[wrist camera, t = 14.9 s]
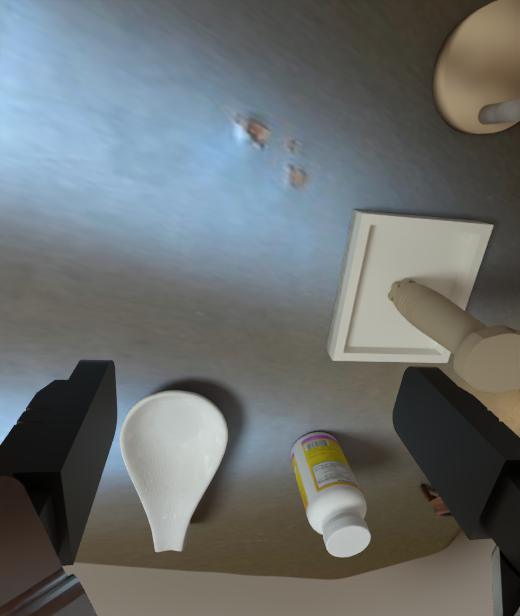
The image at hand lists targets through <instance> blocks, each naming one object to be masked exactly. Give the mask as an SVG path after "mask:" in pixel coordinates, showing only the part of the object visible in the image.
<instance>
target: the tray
mask: <svg viewBox="0 0 520 616" xmlns="http://www.w3.org/2000/svg"><path fill="white" fill-rule="evenodd" d="M493 226H494V225H492V224H488V223H484V222H480V221H474V220H463V219H452V218H441V217H430V216H419V215H408V214H397V213H386V212H375V211H363V210H353V213H352V218H351V223H350V228H349V234H348V239H347V244H346V249H345V254H344V260H343V265H342V270H341V275H340V280H339V286H338V291H337V296H336V301H335V306H334V312H333V317H332V322H331V327H330V332H329V338H328V343H327V348H326V350H327V352H328V353H329V355H330V357H331V358H332V360H333V361H376V362H428V363H447V362H448V359H449V356H450V353H451V352H450V351H448V350H447V349H446V348H444V347H443V346H441V345H440V344H438V343H437V342H436V341H434V340H433V339H431V338H430V337H428V336H427V335H425V334H424V333H422V332H421V331H419V330H418V329H417V328H416V327H414V326H413V325H412V324H411V323H410V322H408V321H407V320H406V319H405V318H404V317H403V316H402V315H401V314H400V312H399V311H398V310H397V308H396V307H395V305H394V303H393V302H391V301H390V300H389V298H388V293H389V292H390V290H391V287H392V286H391V285H392V284H393V283H394V282H395V283H397V282H400V281H402V280H403V279H410V280H413V281H415V283H418V284H421V285H424V286H426V287H428V288H430V289H432V290H434V291H436V292H438V293H440V294H441V295H443V296H445V297H446V298H448V299H449V300H451V301H452V302H453V303H455V304H456V305H457V306H459V307H460V308H462V309H463V310H464V311H465V309H466V306H467V303H468V300H469V297H470V294H471V291H472V288H473V285H474V282H475V279H476V276H477V273H478V270H479V267H480V264H481V261H482V259H483V256H484V253H485V250H486V247H487V244H488V241H489V238H490V235H491V232H492V229H493Z"/></svg>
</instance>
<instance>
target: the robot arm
mask: <svg viewBox="0 0 520 616" xmlns="http://www.w3.org/2000/svg"><path fill="white" fill-rule="evenodd" d="M116 424H117V398H116V379H115V365H114V362H113V361H112V360H80V361H79V363H78V364H77V366H76V368H75V369H74V371H73V373H72V374H71V376H70V378H69V379H68V380H54V381H53V382H51V383H50V384H49V385H47V386H46V387H44V388H43V389H41V390H40V391H39V392H37V393H36V395H35V396H34V398H33V399H32V400H31V402H30V403H29V405H28V406H27V408H26V411H24V412H23V413H22V415H21V416H20V418H19V419H18V421H17V424H16V425H14V426H13V428H12V429H11V431H10V432H9V434H8V435H7V436H6V438H5V439H4V441H3V442H2V444H1V445H0V616H97V614H96V612H95V610H94V608H93V606H92V604H91V602H90V600H89V598H88V596H87V594H86V592H85V590H84V588H83V587H82V585H81V583H80V582H79V580H78V579H77V577H76V576H75V575H73V574H72V575H70V576H68V575H67V574H66V572H65V571H64V569H63V567H62V566H65V565H73V564H74V561H75V558H76V554H77V551H78V548H79V545H80V542H81V539H82V536H83V532H84V529H85V526H86V523H87V520H88V517H89V514H90V511H91V507H92V504H93V501H94V498H95V495H96V492H97V489H98V485H99V482H100V479H101V476H102V473H103V470H104V467H105V463H106V460H107V457H108V454H109V451H110V448H111V445H112V441H113V438H114V435H115V430H116ZM393 425H394V428H395V431H396V433H397V434H398V436H399V437H400V439H401V440H402V442H403V443H404V445H405V446H406V448H407V449H408V451H409V452H410V454H411V455H412V457H413V458H414V459H415V461H416V462H417V464H418V465H419V467H420V468H421V470H422V471H423V473H424V474H425V476H426V477H427V479H428V480H429V482H430V483H431V484H432V486H433V487H434V489H435V490H436V492H437V493H438V495H439V496H440V498H441V499H442V501H443V502H444V504H445V505H446V507H447V508H448V510H449V511H450V512H451V514H452V515H453V517H454V518H455V520H456V521H457V523H458V524H459V526H460V527H461V529H462V530H463V532H464V533H465V535H466V536H467V538H468V539H469V540H475V539H489V538H492V539H493V540H494V542H495V543H496V546H495V548H494V550H493V552H492V557H491V559H492V560H491V561H492V592H493V616H520V438H519V437H518V436H517V435H516V434H515V433H514V432H513V431H512V430H511V429H510V428H509V427H507V426H506V425H505V424H504V423H503V422H499V418H498V417H496V416H495V415H494V414H493V413H492V412H491V411H488V410H487V407H485V406H484V405H483V404H482V403H481V402H480V401H479V400H478V399H477V398H476V397H474V396H473V395H472V394H470V393H468V392H467V391H465V390H463V389H462V388H460V387H458V386H457V385H456V384H455V383H454V382H453V381H452V380H451V379H450V378H449V377H448V376H447V375H446V374H444V373H443V372H442V371H441V370H440V369H439V368H437V367H418V366H411V367H408V368H407V369H406V370H405V372H404V375H403V378H402V382H401V385H400V388H399V392H398V395H397V399H396V402H395V406H394V409H393Z"/></svg>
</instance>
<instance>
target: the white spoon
mask: <svg viewBox="0 0 520 616" xmlns="http://www.w3.org/2000/svg"><path fill="white" fill-rule="evenodd" d="M227 442H228V426H227V423H226V420H225V418H224V416H223V414H222V412H221V411H220V410H219V408H218V407H217V406H216V405H215V404H214V403H213V402H211V401H210V400H209V399H207V398H206V397H204V396H202V395H200V394H197V393H194V392H189V391H182V390H167V391H162V392H158V393H154V394H152V395H149V396H147V397H145V398H143V399H141V400H140V401H139V402H137V403H136V404H135V405H134V406H133V407H132V408H131V409H130V411H129V412H128V413H127V415H126V417H125V419H124V421H123V424H122V427H121V431H120V447H121V452H122V456H123V460H124V463H125V465H126V468H127V470H128V473H129V475H130V477H131V479H132V482H133V484H134V486H135V488H136V491H137V493H138V495H139V497H140V500H141V502H142V504H143V507H144V509H145V511H146V514H147V517H148V520H149V523H150V526H151V530H152V534H153V540H154V546H155V551H156V552H161V551H165V550H175V551H182V550H183V549H184V547H185V544H186V541H187V538H188V534H189V529H190V519H191V517H192V515H193V513H194V511H195V509H196V507H197V505H198V503H199V501H200V500H201V498H202V496H203V494H204V493H205V491H206V489H207V487H208V486H209V484H210V482H211V480H212V479H213V477H214V475H215V473H216V471H217V469H218V467H219V465H220V463H221V461H222V458H223V456H224V453H225V451H226V447H227Z"/></svg>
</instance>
